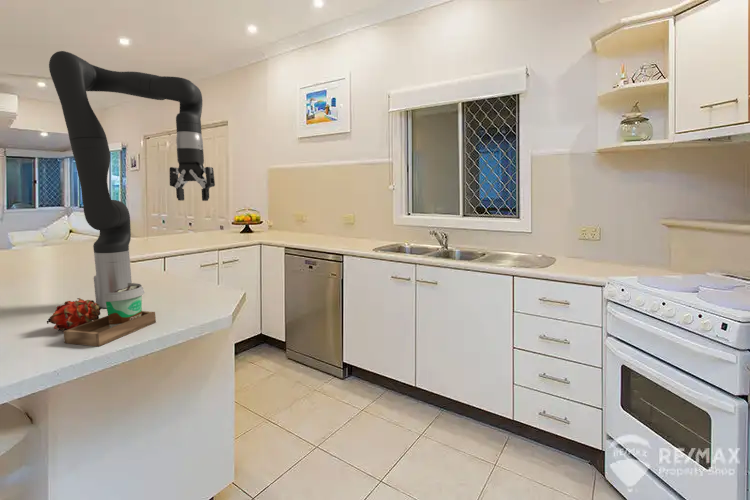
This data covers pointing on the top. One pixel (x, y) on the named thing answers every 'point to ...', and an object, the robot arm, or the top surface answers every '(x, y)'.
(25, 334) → the top surface
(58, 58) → the robot arm
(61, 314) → the dragon fruit
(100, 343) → the wooden tray
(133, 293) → the food container
